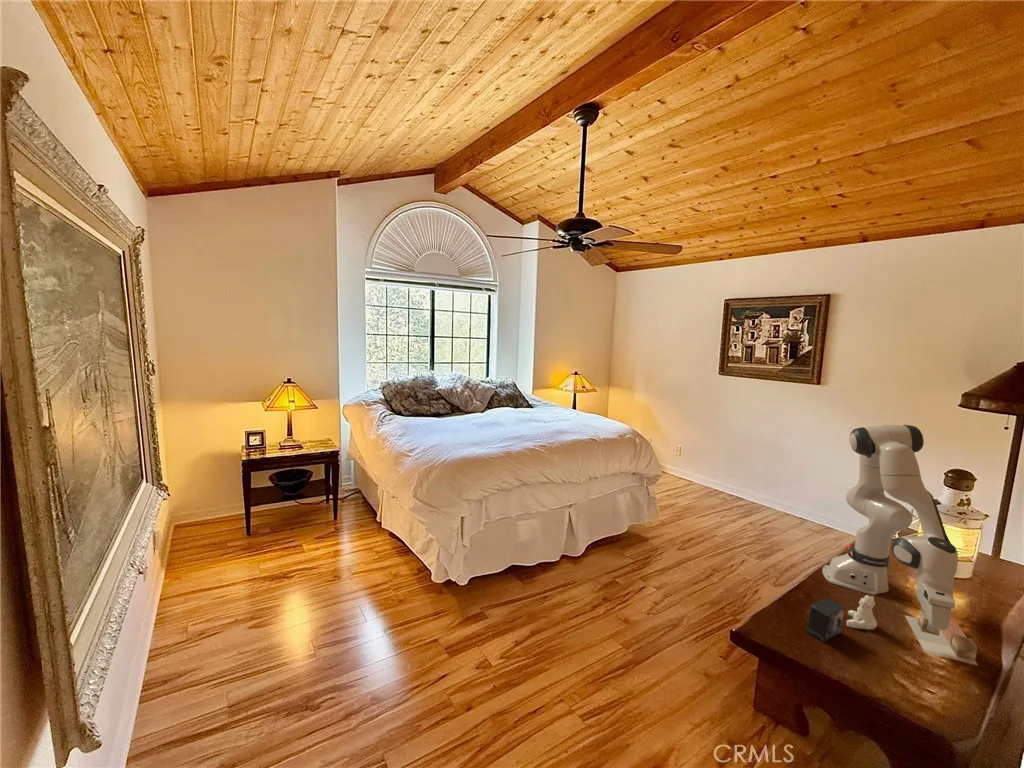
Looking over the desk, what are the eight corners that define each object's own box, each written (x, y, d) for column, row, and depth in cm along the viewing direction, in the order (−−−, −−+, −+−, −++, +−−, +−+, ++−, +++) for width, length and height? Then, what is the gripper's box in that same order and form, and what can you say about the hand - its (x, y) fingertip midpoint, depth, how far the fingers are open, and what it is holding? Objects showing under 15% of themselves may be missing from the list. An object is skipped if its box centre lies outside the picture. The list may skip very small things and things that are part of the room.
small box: (825, 643, 158) (828, 616, 156) (805, 631, 164) (808, 605, 162) (842, 633, 163) (845, 606, 161) (822, 622, 168) (826, 596, 167)
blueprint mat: (924, 652, 154) (924, 651, 153) (904, 616, 172) (904, 615, 172) (978, 666, 148) (978, 665, 148) (951, 627, 166) (951, 625, 166)
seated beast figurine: (847, 612, 174) (851, 584, 172) (876, 622, 168) (881, 593, 166) (845, 626, 166) (849, 596, 164) (876, 637, 161) (880, 606, 159)
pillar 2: (956, 656, 151) (958, 643, 150) (950, 647, 155) (953, 634, 154) (974, 661, 149) (977, 647, 148) (968, 652, 153) (971, 638, 152)
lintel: (950, 645, 156) (951, 634, 156) (935, 622, 168) (937, 612, 167) (965, 649, 155) (967, 638, 154) (950, 626, 166) (952, 616, 165)
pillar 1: (921, 631, 154) (923, 617, 153) (917, 623, 158) (919, 610, 157) (938, 635, 152) (941, 622, 151) (934, 627, 156) (937, 614, 155)
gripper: (913, 569, 163) (908, 604, 165) (930, 600, 145) (923, 640, 148) (937, 574, 160) (931, 610, 162) (957, 607, 142) (949, 647, 145)
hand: (927, 624), depth 155 cm, fingers closed on pillar 1, 4 cm apart
